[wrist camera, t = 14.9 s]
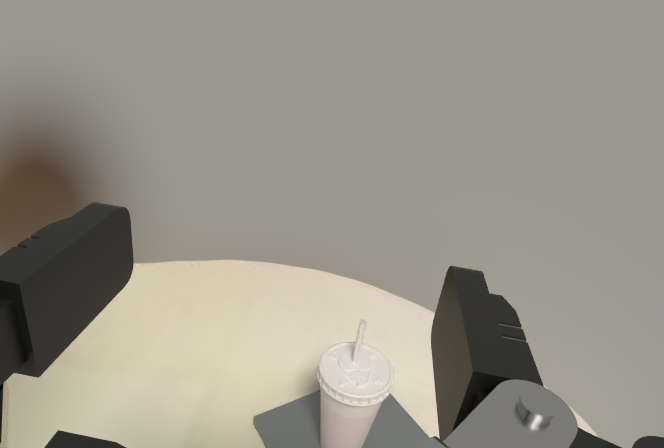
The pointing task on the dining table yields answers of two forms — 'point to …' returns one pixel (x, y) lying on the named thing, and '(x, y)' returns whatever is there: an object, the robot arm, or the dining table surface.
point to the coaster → (304, 425)
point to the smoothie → (351, 391)
